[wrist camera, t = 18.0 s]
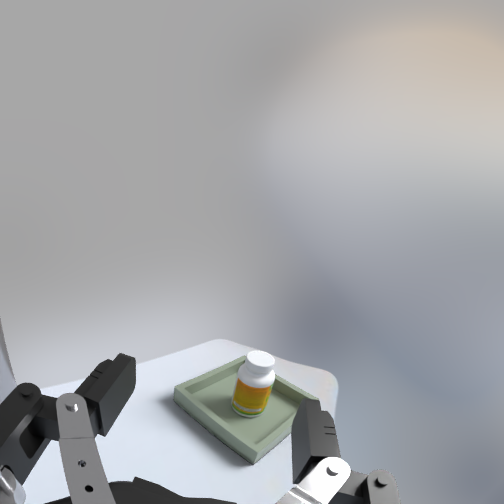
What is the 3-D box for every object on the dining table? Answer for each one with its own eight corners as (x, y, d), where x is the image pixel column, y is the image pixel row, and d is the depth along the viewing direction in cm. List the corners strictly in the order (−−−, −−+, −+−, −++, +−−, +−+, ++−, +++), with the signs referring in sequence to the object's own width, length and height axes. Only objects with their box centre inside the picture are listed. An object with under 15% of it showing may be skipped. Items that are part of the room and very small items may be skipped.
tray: (173, 400, 40) (174, 386, 39) (241, 368, 53) (244, 355, 52) (253, 464, 31) (257, 452, 30) (313, 411, 43) (319, 399, 43)
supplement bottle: (267, 419, 39) (283, 370, 37) (231, 417, 38) (243, 368, 36) (262, 396, 44) (276, 349, 42) (229, 394, 43) (239, 345, 41)
